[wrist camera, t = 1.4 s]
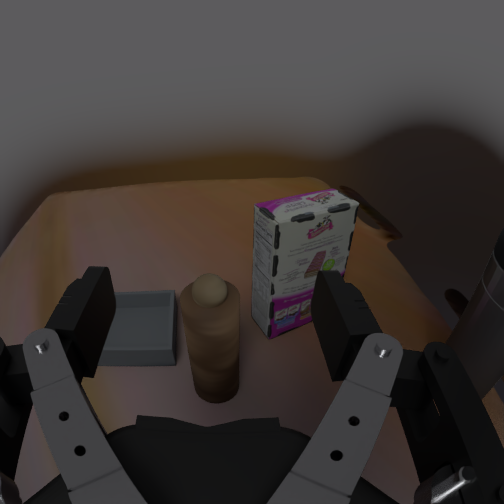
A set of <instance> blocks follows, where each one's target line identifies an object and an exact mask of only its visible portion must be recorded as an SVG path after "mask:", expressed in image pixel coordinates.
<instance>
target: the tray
mask: <svg viewBox="0 0 504 504" xmlns="http://www.w3.org/2000/svg"><path fill="white" fill-rule="evenodd" d="M114 294H115V298H116V312H115V316H114V319H113V322H112V324H111V327H110V330H109V333H108V336H107V339H106V341H105V344H104V347H103V350H102V353H101V356H100V360H99V363H98V366H174V365H176V326H177V302H176V296H175V290H165V291H141V292H114Z"/></svg>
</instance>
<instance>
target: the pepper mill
mask: <svg viewBox="0 0 504 504" xmlns="http://www.w3.org/2000/svg"><path fill="white" fill-rule="evenodd" d="M180 304H181V310H182V317H183V323H184V330H185V336H186V342H187V348H188V353H189V359H190V365H191V370H192V375H193V381H194V386H195V390H196V392H197V394H198V395H199V397H200V398H202V399H203V400H205V401H207V402H210V403H223V402H226V401H229V400H230V399H232V398H233V397H234V396H235V395H236V393H237V391H238V388H239V331H240V294H239V291H238V290H237V288H236V287H235V286H234V285H232V284H231V283H229V282H227V281H224V280H223V279H222V278H221V277H219V276H218V275H215V274H204V275H201V276H200V277H198V278H197V279H196V280H195V282H193V283H191V284H189V285H188V286H187V287H185V288H184V290H183V291H182V293H181V296H180Z"/></svg>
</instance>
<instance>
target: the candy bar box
mask: <svg viewBox="0 0 504 504" xmlns="http://www.w3.org/2000/svg"><path fill="white" fill-rule="evenodd" d="M358 206H359V203H358V202H356V201H355V200H353V199H351V198H349V197H348V196H346V195H344V194H342V193H340V192H339V191H338V190H335V189H327V190H322V191H316V192H311V193H306V194H301V195H296V196H291V197H286V198H281V199H276V200H271V201H266V202H261V203H256V204H254V241H253V273H252V279H253V281H252V312H251V313H252V315H251V316H252V318H253V319H254V321H255V322H256V323H257V325H258V326H259V327H260V328H261V330H262V331H263V333H264V334H265V335H266V336H267V338H268V339H272V338H274V337H277V336H279V335H281V334H284V333H286V332H288V331H291V330H293V329H295V328H297V327H300V326H302V325H304V324H306V323H308V322H311V321H313V320H312V317H311V300H312V296H313V291H314V286H315V282H316V277H317V273H318V271H320V270H338V271H339V272H340V274H341V276H342V278H343V277H344V273H345V269H346V264H347V260H348V256H349V251H350V246H351V242H352V237H353V232H354V227H355V222H356V217H357V211H358Z"/></svg>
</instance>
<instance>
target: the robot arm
mask: <svg viewBox="0 0 504 504" xmlns="http://www.w3.org/2000/svg"><path fill="white" fill-rule="evenodd" d="M115 312H116V298H115V294H114V289H113V285H112V280H111V275H110V271H109V268H108V267H95V266H90V267H88V268H87V270H86V272H85V273H84V275H83V277H82V279H76V280H75V281H74V282H73V283H71V284H70V285H69V286H68V287H67V289H66V291H65V292H64V294H63V297H61V299H60V301H59V304H57V306H56V308H55V310H54V311H53V313H52V315H51V317H50V319H49V321H48V322H47V324H46V326H45V328H43V329H38V330H36V331H34V332H32V333H31V334H29V335H28V336H27V337H26V339H25V340H24V343H23V344H19V345H12V346H6V345H5V343H4V341H3V340H2V338H1V337H0V504H22V499H21V498H20V495H19V490H18V487H17V485H16V483H15V482H14V479H15V473H16V468H17V464H18V459H19V455H20V450H21V446H22V442H23V438H24V434H25V430H26V426H27V423H28V419H29V416H30V412H31V409H32V406H33V404H34V408H35V411H36V414H37V416H38V419H39V422H40V425H41V428H42V430H43V433H44V436H45V438H46V441H47V443H48V446H49V448H50V451H51V453H52V455H53V458H54V460H55V462H56V465H57V467H58V469H59V471H60V474H59V475H58V476H57V477H55V478H54V479H53V480H52V481H51V482H49V483H48V484H47V485H46V486H44V487H43V488H42V489H41V490H39V491H38V492H37V493H36V494H34V495H33V496H32V497H31V498H29V499H28V500H27V501H26V502H24V503H23V504H399V503H398V502H396V501H395V500H393V499H392V498H390V497H389V496H387V495H386V494H385V493H383V492H382V491H380V490H379V489H378V488H376V487H375V486H373V485H372V484H371V483H369V482H368V481H367V480H365V479H364V478H362V477H361V473H362V471H363V469H364V467H365V465H366V463H367V460H368V458H369V456H370V454H371V451H372V449H373V447H374V444H375V442H376V440H377V437H378V435H379V432H380V430H381V427H382V425H383V422H384V419H385V417H386V414H387V411H388V408H389V406H390V407H396V409H397V411H398V414H399V417H400V420H401V423H402V426H403V429H404V432H405V435H406V438H407V442H408V445H409V448H410V451H411V454H412V458H413V461H414V464H415V467H416V471H417V474H418V478H419V481H420V485H419V486H418V487H417V489H416V491H415V494H414V503H413V504H504V448H503V446H502V444H501V441H500V439H499V437H498V434H497V432H496V430H495V428H494V426H493V423H492V421H491V419H490V417H489V415H488V413H487V411H486V409H485V407H484V405H483V403H482V401H481V400H482V399H483V398H484V397H485V395H486V394H487V393H488V392H489V391H490V390H491V389H492V388H493V386H494V385H495V384H496V383H497V382H498V381H499V380H500V378H501V377H502V376H503V375H504V229H503V230H502V231H501V233H500V235H499V238H498V240H497V243H496V245H495V248H494V250H493V252H492V255H491V257H490V259H489V261H488V264H487V266H486V268H485V270H484V273H483V275H482V277H481V279H480V281H479V283H478V285H477V287H476V290H475V291H474V294H473V295H472V297H471V299H470V301H469V303H468V305H467V307H466V309H465V310H464V312H463V314H462V316H461V318H460V319H459V321H458V323H457V325H456V326H455V328H454V330H453V332H452V333H451V335H450V337H449V338H448V340H447V341H446V343H445V344H444V343H441V342H431V343H429V344H427V345H426V347H425V349H424V351H423V352H419V351H412V350H406V349H402V346H401V344H400V343H399V342H398V341H397V340H396V339H395V338H393V337H392V336H390V335H387V334H383V332H382V331H381V329H380V327H379V325H378V323H377V321H376V319H375V317H374V316H373V314H372V312H371V310H370V309H369V306H368V305H367V303H366V302H365V299H364V297H363V296H362V294H361V292H360V291H359V290H358V289H357V288H356V287H355V286H354V285H352V284H351V283H345V281H344V280H343V278H342V276H341V274H340V272H339V271H338V270H320V271H318V273H317V277H316V282H315V286H314V291H313V296H312V300H311V317H312V320H313V323H314V326H315V329H316V332H317V335H318V338H319V341H320V344H321V348H322V351H323V354H324V357H325V360H326V363H327V366H328V369H329V372H330V376H331V379H332V382H334V381H343V383H342V385H341V387H340V389H339V391H338V393H337V395H336V396H335V398H334V400H333V402H332V404H331V405H330V407H329V409H328V411H327V413H326V414H325V416H324V418H323V420H322V421H321V423H320V425H319V426H318V428H317V430H316V432H315V433H314V435H313V436H312V438H310V437H309V436H307V435H305V434H303V433H301V432H298V431H296V430H293V429H289V428H285V427H280V424H279V418H278V417H277V418H258V419H242V420H237V421H233V422H229V423H225V424H220V425H215V426H211V427H204V426H200V425H196V424H192V423H188V422H184V421H181V420H177V419H173V418H166V417H153V416H142V415H137V419H136V425H130V426H126V427H122V428H120V429H117V430H115V431H113V432H111V433H109V434H107V432H106V431H105V429H104V427H103V425H102V424H101V422H100V420H99V418H98V416H97V415H96V413H95V411H94V409H93V407H92V405H91V403H90V401H89V399H88V397H87V395H86V393H85V391H84V389H83V387H82V385H81V382H82V379H83V377H90V378H94V375H95V372H96V369H97V366H98V363H99V360H100V356H101V353H102V350H103V347H104V344H105V341H106V339H107V336H108V333H109V330H110V327H111V324H112V322H113V319H114V316H115ZM433 399H434V401H435V404H436V406H437V408H438V411H439V413H438V411H437V409H436V406H435V404H434V401H433ZM439 414H440V416H439Z"/></svg>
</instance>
